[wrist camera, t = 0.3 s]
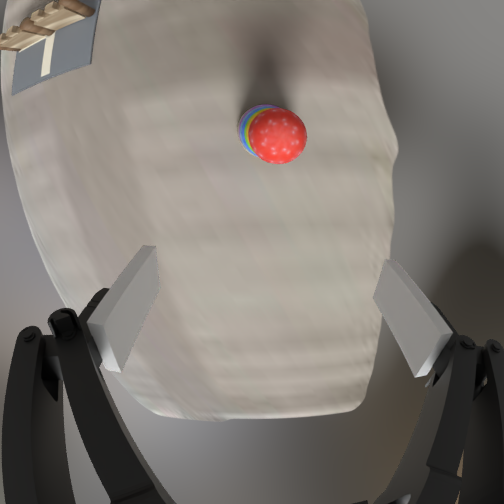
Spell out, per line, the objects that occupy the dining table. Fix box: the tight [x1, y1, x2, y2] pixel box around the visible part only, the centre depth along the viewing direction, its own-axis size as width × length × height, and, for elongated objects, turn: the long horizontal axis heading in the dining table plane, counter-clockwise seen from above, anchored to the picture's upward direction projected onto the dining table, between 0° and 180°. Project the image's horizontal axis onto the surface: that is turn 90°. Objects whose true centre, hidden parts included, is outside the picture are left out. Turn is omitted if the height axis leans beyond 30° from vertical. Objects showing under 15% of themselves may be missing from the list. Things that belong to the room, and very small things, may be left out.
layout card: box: [12, 0, 101, 95], centre depth 26 cm, size 16×22×1 cm
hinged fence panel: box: [30, 0, 95, 31], centre depth 20 cm, size 2×9×9 cm, turn 88°
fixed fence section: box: [0, 17, 55, 51], centre depth 21 cm, size 2×12×10 cm, turn 88°
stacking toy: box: [237, 104, 307, 164], centre depth 28 cm, size 8×8×19 cm
